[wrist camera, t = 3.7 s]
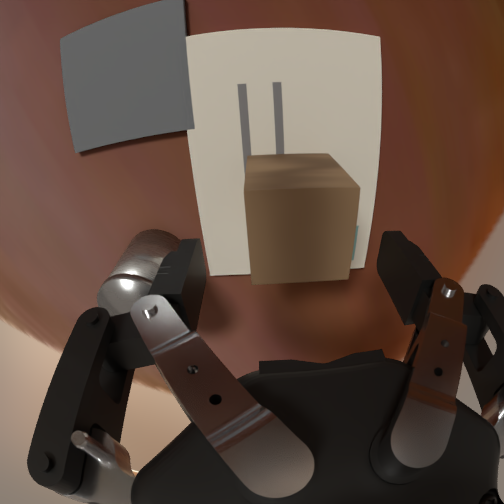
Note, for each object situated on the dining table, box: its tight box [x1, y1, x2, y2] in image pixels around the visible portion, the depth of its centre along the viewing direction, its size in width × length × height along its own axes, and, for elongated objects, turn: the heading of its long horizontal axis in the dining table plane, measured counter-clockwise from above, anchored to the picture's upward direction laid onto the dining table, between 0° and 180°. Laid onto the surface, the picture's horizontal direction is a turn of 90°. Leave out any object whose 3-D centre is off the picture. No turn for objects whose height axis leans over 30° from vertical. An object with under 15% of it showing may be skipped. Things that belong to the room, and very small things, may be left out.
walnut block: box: [244, 153, 360, 285], centre depth 15 cm, size 5×5×6 cm
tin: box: [97, 229, 181, 316], centre depth 19 cm, size 5×5×6 cm
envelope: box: [181, 28, 382, 276], centre depth 17 cm, size 12×17×1 cm
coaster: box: [60, 0, 195, 153], centre depth 13 cm, size 9×9×1 cm
